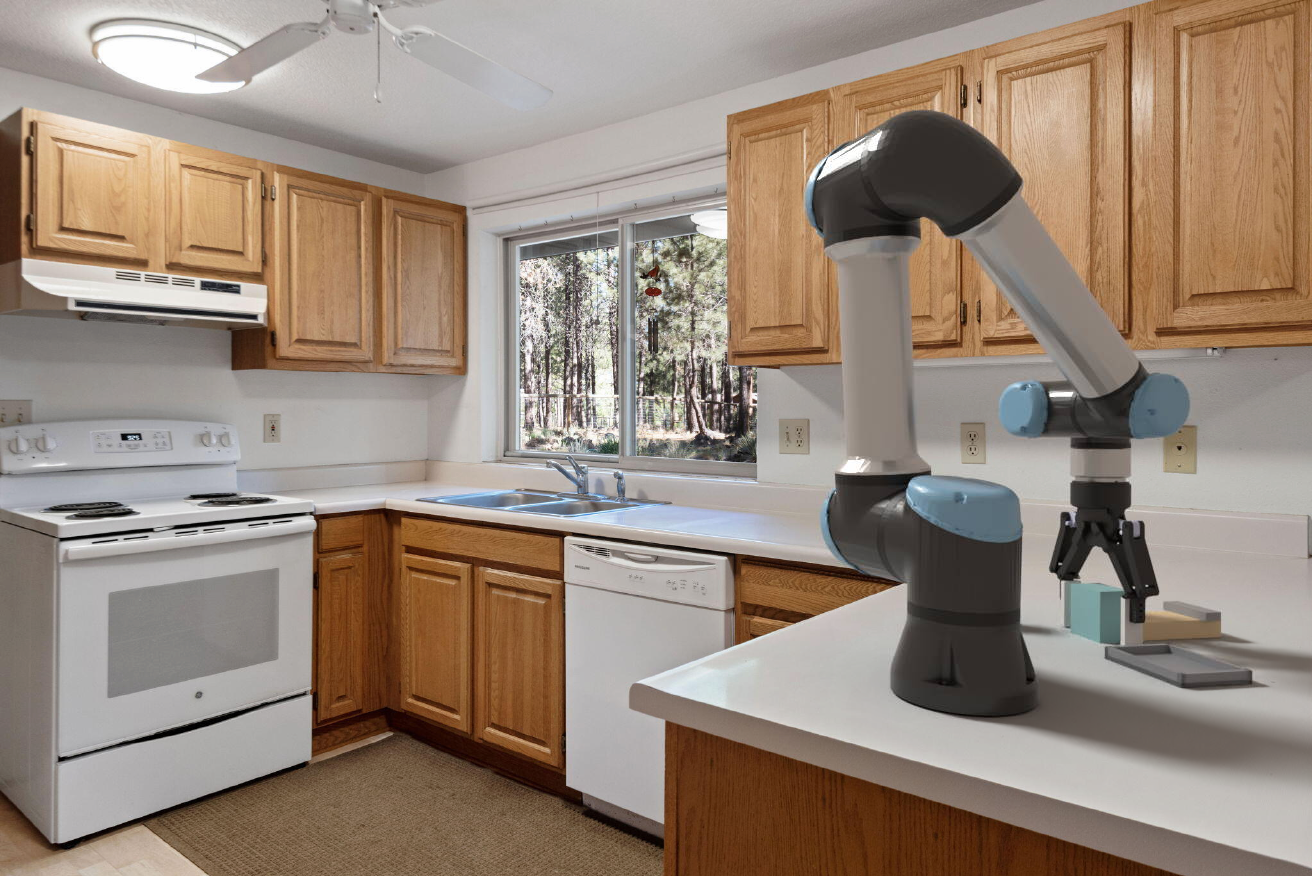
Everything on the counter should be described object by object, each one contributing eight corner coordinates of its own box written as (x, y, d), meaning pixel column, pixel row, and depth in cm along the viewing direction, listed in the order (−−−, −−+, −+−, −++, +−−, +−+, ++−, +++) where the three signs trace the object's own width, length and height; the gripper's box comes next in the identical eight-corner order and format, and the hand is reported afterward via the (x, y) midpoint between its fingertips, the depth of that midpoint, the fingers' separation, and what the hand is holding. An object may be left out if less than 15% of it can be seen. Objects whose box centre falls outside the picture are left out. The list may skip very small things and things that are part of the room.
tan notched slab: (1136, 642, 112) (1136, 615, 112) (1097, 629, 120) (1097, 603, 120) (1225, 638, 115) (1226, 611, 115) (1182, 625, 122) (1182, 600, 122)
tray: (1181, 687, 93) (1181, 674, 93) (1104, 658, 105) (1104, 646, 105) (1252, 683, 94) (1252, 670, 94) (1168, 654, 106) (1168, 643, 106)
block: (1099, 643, 112) (1100, 591, 112) (1070, 632, 118) (1070, 583, 118) (1129, 642, 113) (1129, 590, 113) (1098, 631, 119) (1099, 582, 119)
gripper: (1193, 484, 104) (1192, 657, 105) (1068, 474, 128) (1067, 615, 128) (1140, 485, 103) (1139, 659, 103) (1023, 475, 127) (1023, 617, 127)
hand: (1099, 635), depth 116 cm, fingers open, 11 cm apart
